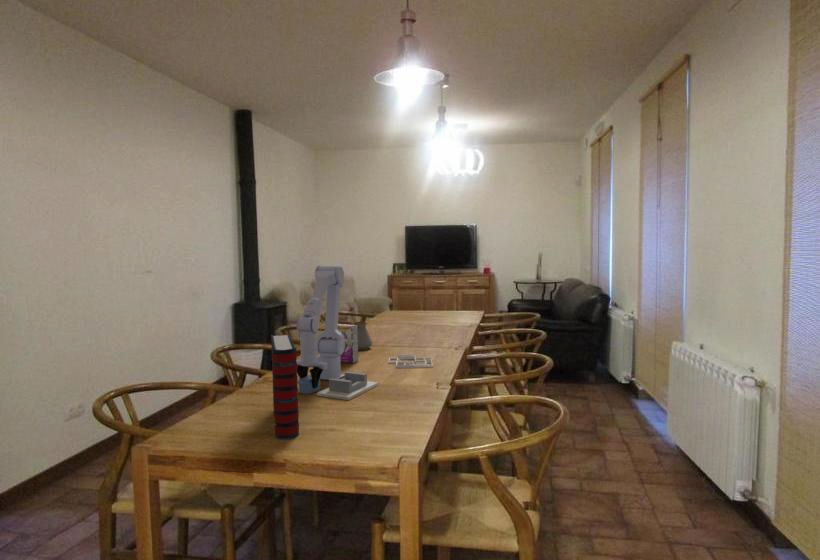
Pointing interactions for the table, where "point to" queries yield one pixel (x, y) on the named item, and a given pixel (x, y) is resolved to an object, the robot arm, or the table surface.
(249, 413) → the table surface
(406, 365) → the floor plan model
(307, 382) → the block
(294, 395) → the book
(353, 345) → the candy bar box
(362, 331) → the coffee pot
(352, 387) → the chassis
